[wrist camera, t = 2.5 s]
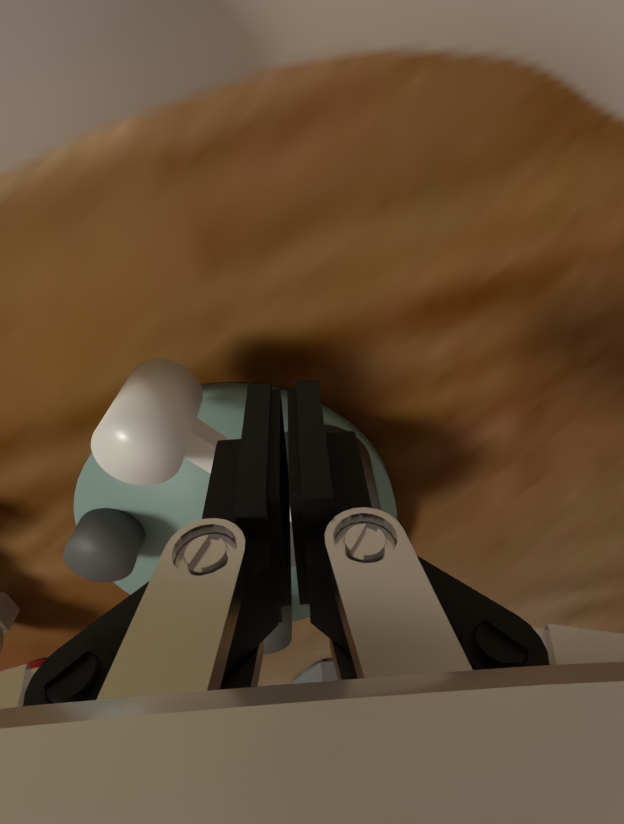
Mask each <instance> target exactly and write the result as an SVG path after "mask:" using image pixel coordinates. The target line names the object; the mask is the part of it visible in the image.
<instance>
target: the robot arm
mask: <svg viewBox="0 0 624 824" xmlns="http://www.w3.org/2000/svg"><path fill="white" fill-rule="evenodd" d="M287 401H288V455H289V472H288V462H287V452H286V441H285V431H284V421H283V410H282V400H281V390H280V389H272V386H271V383H266V384H251V385H248V387H247V395H246V403H245V412H244V420H243V428H242V436H241V439H230V440H218V441H217V444H216V448H215V453H214V459H213V464H212V469H211V474H210V479H209V484H208V490H207V495H206V500H205V505H204V510H203V515H202V520H198V521H195V522H192V523H190V524H188V525H186V526H184V527H183V528H181V529H180V530H178V531H177V532H176V533H175V534H174V535H173V536H172V537H171V538H170V540H169V541H168V543H167V544H166V546H165V548H164V550H163V552H162V555H161V557H160V559H159V561H158V564H157V566H156V568H155V570H154V572H153V575H152V577H151V579H150V581H148V582H147V583H146V584H144V585H143V586H142V587H140V588H139V589H138V590H136V591H135V592H134V593H132V594H131V595H130V596H128V597H127V598H126V599H124V600H123V601H122V602H120V603H119V604H118V605H116V606H115V607H114V608H112V609H111V610H110V611H108V612H107V613H106V614H104V615H103V616H102V617H100V618H99V619H98V620H96V621H95V622H94V623H92V624H91V625H90V626H88V627H87V628H86V629H84V630H83V631H82V632H80V633H79V634H78V635H76V636H75V637H74V638H72V639H71V640H70V641H68V642H67V643H66V644H64V645H63V646H61V647H60V648H59V649H57V650H56V651H55V652H54V653H53V654H52V655H51V656H49V657H48V658H47V659H46V660H45V661H44V662H43V663H42V664H41V665H40V667H37V668H33V669H30V668H29V666H28V665H27V664H24V665H21V666H17V667H14V668H11V669H7V670H4V671H0V824H624V634H619V633H612V632H605V631H598V630H590V629H583V628H576V627H569V626H562V625H555V624H548V623H547V625H546V627H545V629H539V628H532V627H531V625H529V624H528V623H527V622H525V621H524V620H523V619H521V618H520V617H519V616H517V615H516V614H514V613H512V612H511V611H509V610H507V609H506V608H504V607H502V606H501V605H499V604H497V603H496V602H494V601H492V600H491V599H489V598H487V597H485V596H484V595H482V594H480V593H479V592H477V591H475V590H474V589H472V588H470V587H469V586H467V585H465V584H464V583H462V582H460V581H459V580H457V579H455V578H454V577H452V576H450V575H449V574H447V573H445V572H443V571H442V570H440V569H438V568H437V567H435V566H433V565H432V564H430V563H428V562H427V561H425V560H423V559H422V558H420V557H418V556H417V555H416V553H415V551H414V549H413V547H412V545H411V543H410V541H409V539H408V537H407V535H406V533H405V531H404V529H403V528H402V526H401V525H400V523H399V522H398V521H397V520H396V519H395V518H393V517H392V516H391V515H390V514H388V513H386V512H383V511H381V510H378V509H373V508H372V505H371V500H370V496H369V492H368V487H367V483H366V478H365V474H364V469H363V465H362V460H361V456H360V451H359V447H358V442H357V438H356V434H355V432H354V431H347V432H332V433H325V427H324V419H323V411H322V404H321V396H320V389H319V381H318V380H311V381H296V388H287ZM290 512H291V522H292V532H293V543H294V553H295V563H296V573H297V583H298V593H299V603H300V605H306V604H309V606H310V619H311V623H312V624H313V625H314V626H316V627H317V628H318V629H319V630H320V631H322V632H323V633H324V634H325V635H327V636H328V637H329V642H330V649H331V653H332V657H333V661H334V665H335V670H336V674H337V678H338V680H336V681H323V682H311V683H298V684H285V685H273V686H260V687H257V686H258V680H259V675H260V669H261V664H262V658H263V653H264V639H265V638H266V637H267V636H268V635H269V634H270V633H271V632H272V631H273V630H274V629H275V628H276V627H277V626H278V623H282V606H291V605H292V591H291V539H290Z"/></svg>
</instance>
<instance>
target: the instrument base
mask: <svg viewBox="0 0 624 824" xmlns="http://www.w3.org/2000/svg"><path fill="white" fill-rule="evenodd" d="M248 385H251V384H249V383H211V384H202V385H201V387H202V392H203V399H202V404H201V407H200V410H199V413H198V416H197V418H198V419H200V420H201V421H203V422H204V423H206V424H207V425H209V426H210V427H212V428H213V429H215V430H216V431H218V432H219V433H221V434H222V435H224V436H225V437H227V438H228V439H241V436H242V428H243V420H244V412H245V403H246V395H247V387H248ZM272 389H279V388H275V387H272ZM280 390H281V400H282V410H283V421H284V431H285V432H287V431H288V401H287V390H283V389H280ZM322 411H323V419H324V424H325V425H332V426H336V427H339V428H342V429H345V430H347V431H354V432H355V434H356V437H357V438H359V439H360V440H361V441H362V443H363V444H364V445H365V447H366V448H367V450H368V452H369V455H370V458H371V463H372V468H373V472H374V477H375V482H376V486H377V491H378V496H379V501H380V505H381V510H382V511H383V512H386V513H388V514H390V515H391V516H392V517H393V518H395V519H396V520H397V508H396V504H395V499H394V494H393V490H392V486H391V482H390V478H389V475H388V473H387V470H386V468H385V465H384V462H383V461H382V459H381V457H380V456H379V454H378V452H377V451H376V449H375V447H374V446H373V445H372V444H371V443H370V441H369V440H368V439H367V438H366V437H365V435H364V434H363V433H362V432H361V431H360V430H358V429H357V428H356V427H355V426H354V425H353V424H352V423H351V422H349V421H348V420H347V419H345V418H344V417H342V416H341V415H339V414H338V413H336V412H335V411H333V410H332V409H330V408H328V407H326V406H324V405H322ZM209 479H210V473H208V472H207V471H205V470H204V469H202V468H200V467H199V466H197V465H195V464H194V463H192V462H190V461H189V460H187V459H186V458H183V461H182V464H181V467H180V469H179V471H178V472H177V473H176V475H174V476H173V477H172V478H171V479H169V480H168V481H166V482H163V483H160V484H157V485H151V486H139V485H132V484H128V483H125V482H122V481H120V480H118V479H116V478H114V477H112V476H111V475H109V474H108V473H107V472H105V471H104V470H103V469H102V468H101V467H100V465H99V464H98V463H97V461H96V460H95V458H94V456H93V453H91V455H90V457H89V458H88V460H87V462H86V463H85V465H84V467H83V469H82V472H81V474H80V476H79V478H78V481H77V485H76V490H75V494H74V516H75V522H76V528H75V530H74V532H73V534H72V535H71V537H70V539H69V541H68V543H67V545H66V547H65V549H64V552H63V558H64V561H65V563H66V564H67V566H68V567H69V568H70V569H71V570H72V571H73V572H75V573H76V574H78V575H80V576H81V577H84V578H86V579H89V580H93V581H98V582H114V583H115V584H116V585H118V586H119V587H120V588H121V589H123V590H124V591H126V592H127V593H129V594H130V595H131V594H132V593H134V592H135V591H136V590H138V589H139V588H140V587H142V586H143V585H144V584H146V583H147V582H148V581H150V579H151V577H152V575H153V572H154V570H155V568H156V566H157V564H158V561H159V559H160V557H161V555H162V552H163V550H164V548H165V546H166V544H167V543H168V541H169V540H170V538H171V537H172V536H173V535H174V534H175V533H176V532H177V531H178V530H180V529H181V528H183V527H184V526H186V525H188V524H190V523H192V522H195V521H198V520H202V515H203V510H204V505H205V500H206V495H207V490H208V484H209ZM291 591H292V605H291V606H282V623H278V626H277V627H276V628H275V629H274V630H273V631H272V632H271V633H270V634H269V635H268V636H267V637H266V638H265V639H264V653H263V654H268V653H274V652H277V651H280V650H282V649H284V648H285V647H287V646H288V645H289V643H290V642H291V638H292V621H296V620H300V619H304V618H307V617H310V606H309V604H306V605H300V603H299V593H298V583H297V573H296V567H294V566H291Z"/></svg>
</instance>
